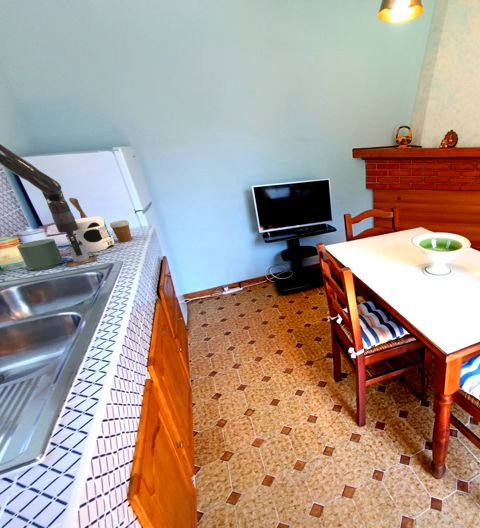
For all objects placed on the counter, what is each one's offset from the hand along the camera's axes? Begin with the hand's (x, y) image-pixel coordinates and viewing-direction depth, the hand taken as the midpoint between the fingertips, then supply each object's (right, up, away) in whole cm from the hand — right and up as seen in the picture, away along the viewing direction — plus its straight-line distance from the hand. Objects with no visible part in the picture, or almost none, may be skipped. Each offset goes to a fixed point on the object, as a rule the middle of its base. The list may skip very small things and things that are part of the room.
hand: (79, 253), depth 150 cm
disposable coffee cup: (-2, +9, +34) cm, 35 cm away
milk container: (-5, +2, +17) cm, 18 cm away
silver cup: (0, -3, +1) cm, 4 cm away
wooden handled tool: (-21, +8, +34) cm, 41 cm away
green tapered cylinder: (-15, -6, -2) cm, 16 cm away
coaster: (0, -4, +2) cm, 4 cm away
